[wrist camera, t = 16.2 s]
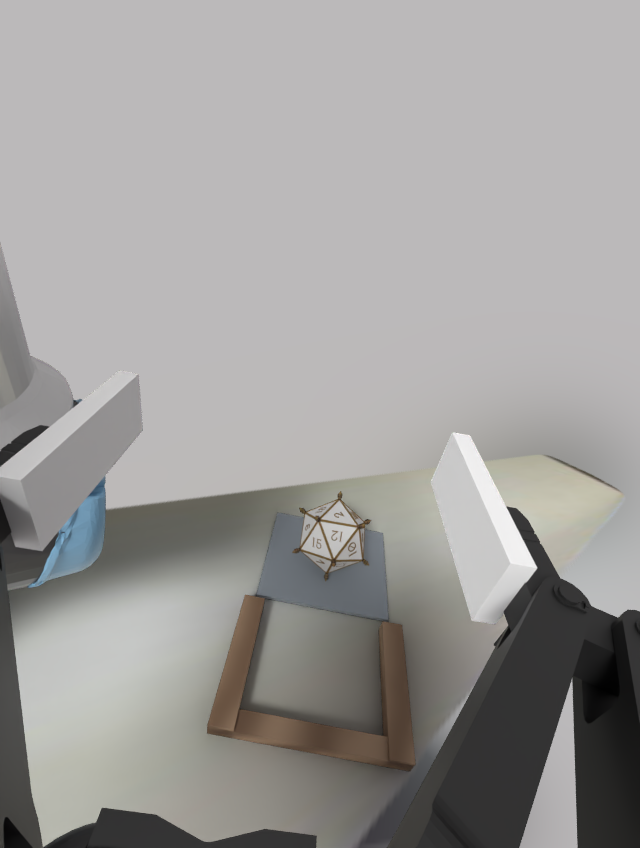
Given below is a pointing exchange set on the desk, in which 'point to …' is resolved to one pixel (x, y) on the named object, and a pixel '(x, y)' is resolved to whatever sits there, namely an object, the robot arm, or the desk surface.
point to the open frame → (314, 737)
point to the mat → (304, 580)
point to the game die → (333, 536)
